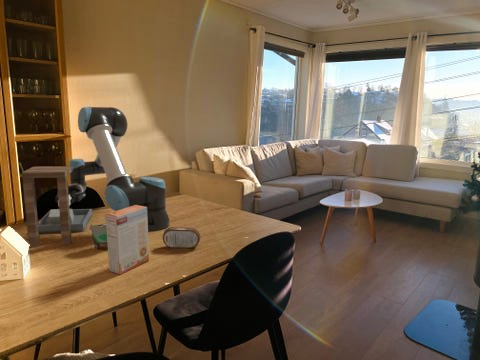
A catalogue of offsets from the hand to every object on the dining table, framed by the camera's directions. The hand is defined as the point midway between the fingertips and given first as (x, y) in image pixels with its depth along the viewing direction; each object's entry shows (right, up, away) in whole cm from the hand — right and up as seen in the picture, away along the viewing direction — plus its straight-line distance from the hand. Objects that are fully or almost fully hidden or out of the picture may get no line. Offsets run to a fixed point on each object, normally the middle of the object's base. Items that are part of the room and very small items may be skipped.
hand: (63, 203), depth 165 cm
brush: (0, -4, +2) cm, 4 cm away
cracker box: (+42, -20, -38) cm, 60 cm away
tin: (+58, -17, -20) cm, 63 cm away
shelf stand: (+4, -14, -16) cm, 22 cm away
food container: (+29, -16, -23) cm, 40 cm away
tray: (-1, -10, +4) cm, 11 cm away
